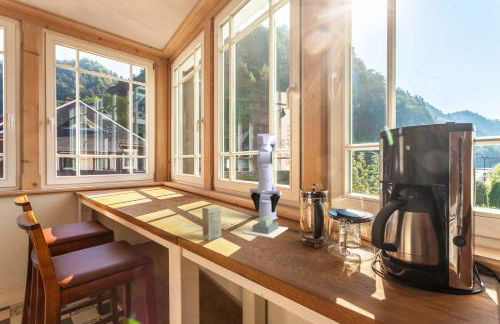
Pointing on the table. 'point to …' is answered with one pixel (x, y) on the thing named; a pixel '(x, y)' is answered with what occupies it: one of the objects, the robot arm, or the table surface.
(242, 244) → the table surface
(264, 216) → the robot arm
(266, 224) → the key block
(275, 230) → the slot holder
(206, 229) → the skincare box
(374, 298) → the table surface
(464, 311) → the table surface
